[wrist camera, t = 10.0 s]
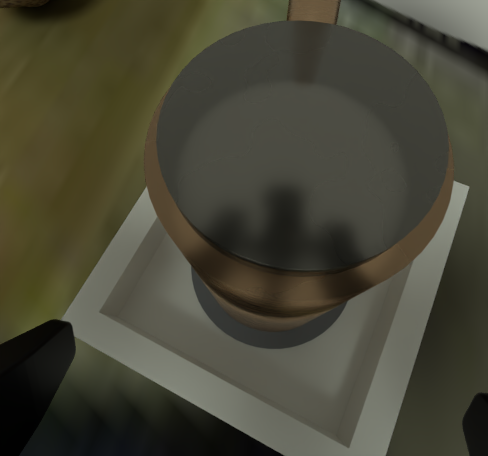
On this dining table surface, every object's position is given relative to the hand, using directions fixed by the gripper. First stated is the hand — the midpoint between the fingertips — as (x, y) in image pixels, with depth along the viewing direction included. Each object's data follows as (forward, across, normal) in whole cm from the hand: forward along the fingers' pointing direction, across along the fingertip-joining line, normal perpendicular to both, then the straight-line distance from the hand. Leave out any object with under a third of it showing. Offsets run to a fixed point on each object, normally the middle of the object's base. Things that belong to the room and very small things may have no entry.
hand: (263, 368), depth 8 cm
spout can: (+8, 0, +2) cm, 9 cm away
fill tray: (+9, 0, +3) cm, 10 cm away
